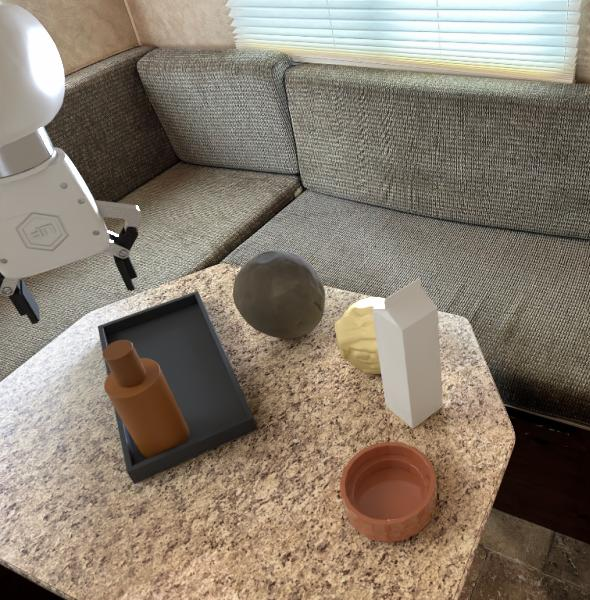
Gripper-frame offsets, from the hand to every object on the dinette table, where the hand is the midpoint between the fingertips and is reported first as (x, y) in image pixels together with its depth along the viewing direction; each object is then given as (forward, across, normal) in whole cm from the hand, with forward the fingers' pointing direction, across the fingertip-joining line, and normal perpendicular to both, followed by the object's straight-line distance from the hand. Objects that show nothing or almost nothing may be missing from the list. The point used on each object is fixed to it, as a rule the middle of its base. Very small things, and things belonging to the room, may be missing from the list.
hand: (84, 299), depth 65 cm
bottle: (+29, 0, +5) cm, 29 cm away
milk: (+30, +34, -8) cm, 46 cm away
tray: (+30, +4, +17) cm, 35 cm away
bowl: (+30, +24, -20) cm, 43 cm away
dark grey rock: (+30, +24, +18) cm, 42 cm away
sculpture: (+30, +34, +4) cm, 45 cm away
